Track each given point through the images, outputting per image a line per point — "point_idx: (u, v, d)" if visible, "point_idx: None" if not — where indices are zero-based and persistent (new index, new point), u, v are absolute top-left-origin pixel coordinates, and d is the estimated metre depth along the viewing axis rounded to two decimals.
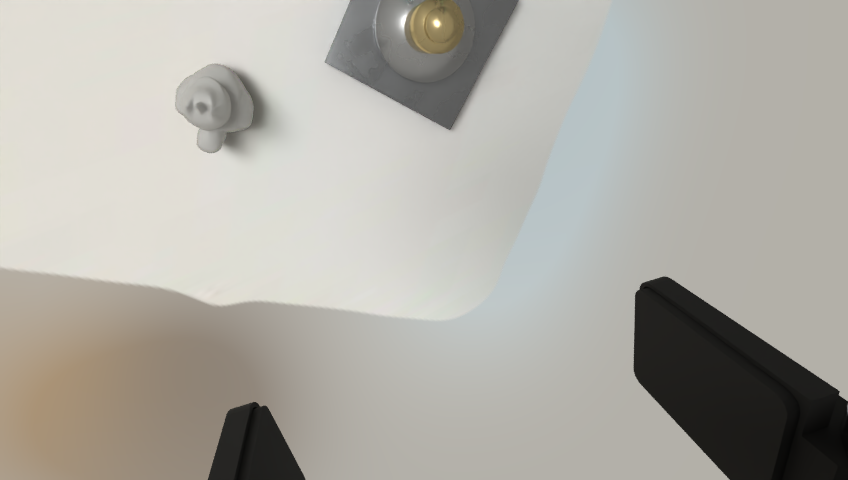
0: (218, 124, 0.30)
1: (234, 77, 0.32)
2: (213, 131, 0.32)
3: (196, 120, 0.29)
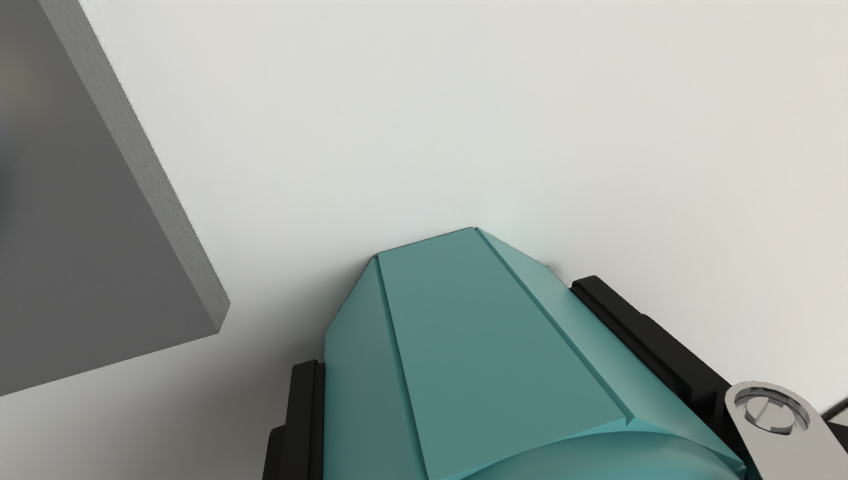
0: None
1: None
2: None
3: None
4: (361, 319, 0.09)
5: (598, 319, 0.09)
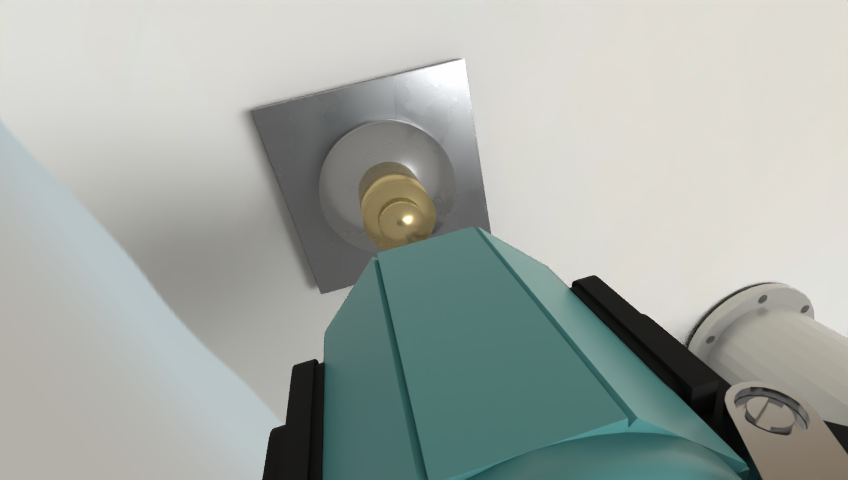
0: None
1: None
2: None
3: None
4: (361, 319, 0.09)
5: (599, 319, 0.09)
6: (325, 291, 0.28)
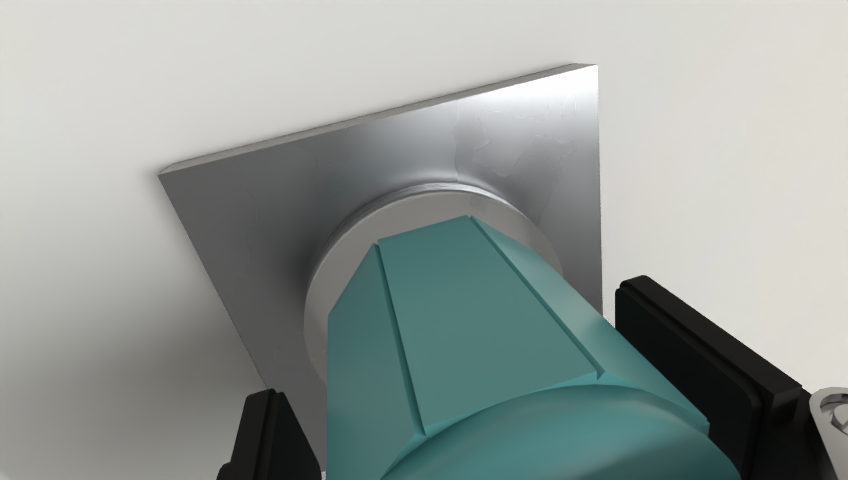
0: None
1: None
2: None
3: None
4: (362, 299, 0.10)
5: (583, 299, 0.10)
6: None
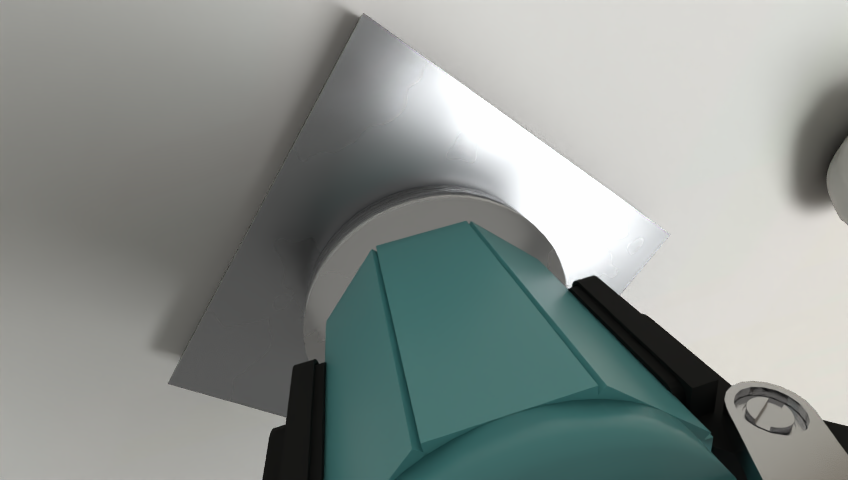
0: None
1: None
2: None
3: None
4: (454, 256, 0.10)
5: None
6: (180, 384, 0.13)
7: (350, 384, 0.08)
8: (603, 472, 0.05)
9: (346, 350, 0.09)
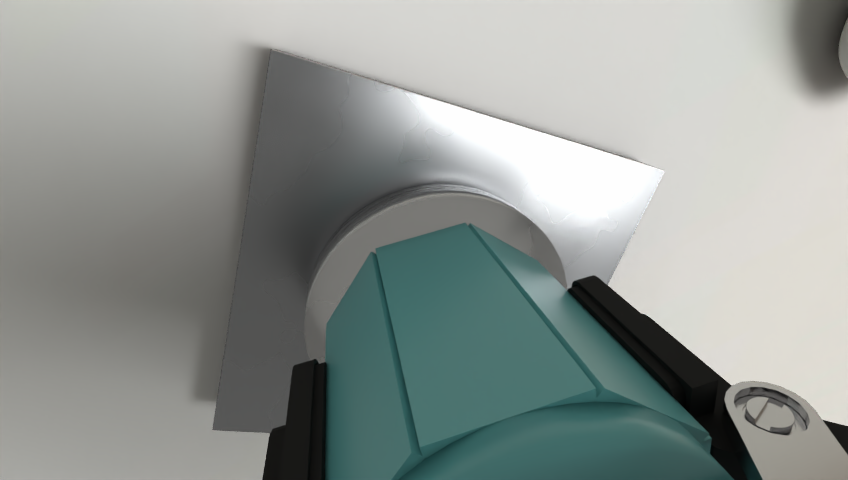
0: None
1: None
2: None
3: None
4: (544, 277, 0.10)
5: None
6: (223, 428, 0.14)
7: (448, 311, 0.08)
8: None
9: (430, 283, 0.09)
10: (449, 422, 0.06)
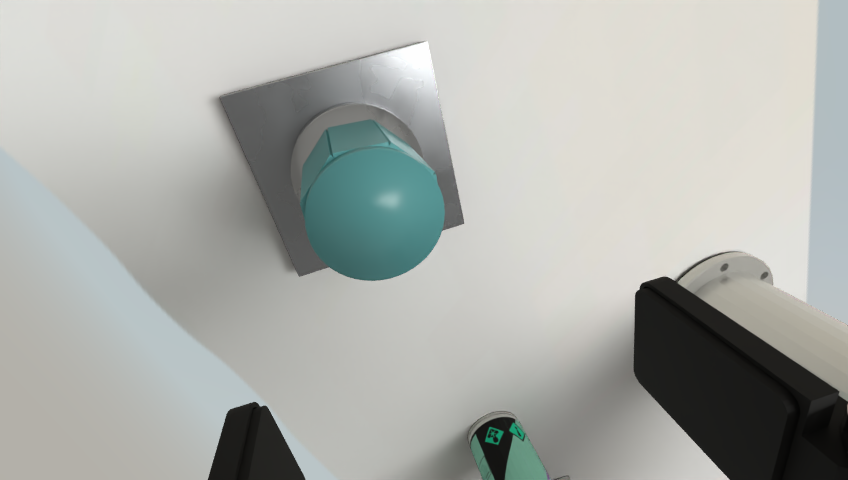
0: None
1: None
2: None
3: None
4: (402, 142, 0.23)
5: None
6: (303, 273, 0.28)
7: (351, 136, 0.21)
8: (425, 180, 0.19)
9: (348, 132, 0.22)
10: (342, 149, 0.18)
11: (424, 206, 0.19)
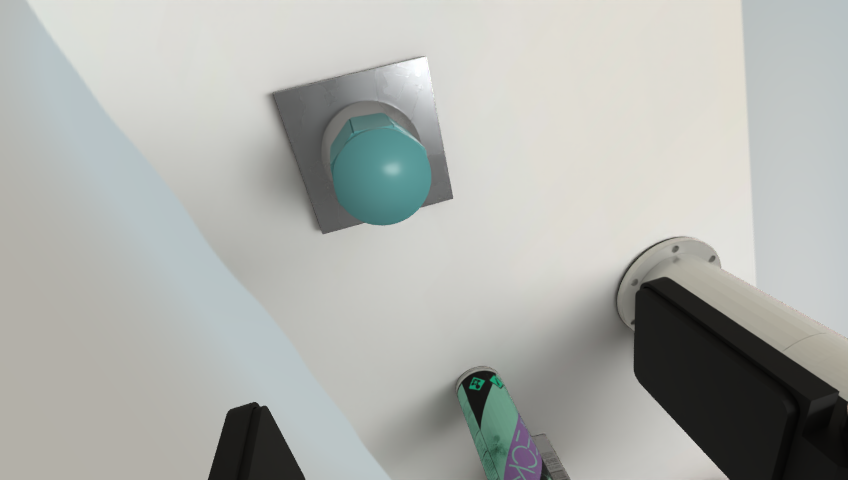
0: None
1: None
2: None
3: None
4: (404, 129, 0.31)
5: None
6: (326, 232, 0.37)
7: (367, 122, 0.29)
8: (417, 152, 0.27)
9: (365, 120, 0.30)
10: (361, 129, 0.27)
11: (416, 171, 0.27)
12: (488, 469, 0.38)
